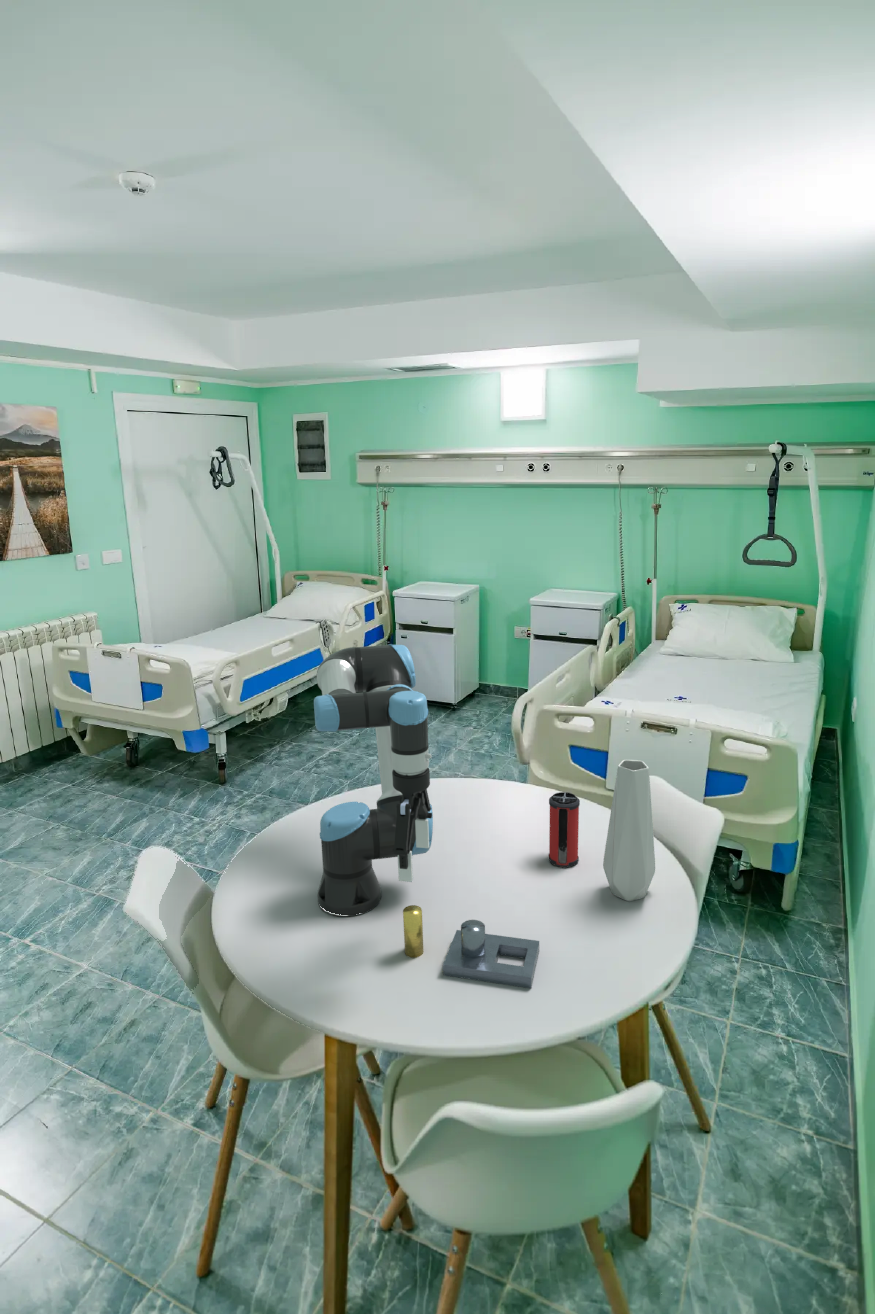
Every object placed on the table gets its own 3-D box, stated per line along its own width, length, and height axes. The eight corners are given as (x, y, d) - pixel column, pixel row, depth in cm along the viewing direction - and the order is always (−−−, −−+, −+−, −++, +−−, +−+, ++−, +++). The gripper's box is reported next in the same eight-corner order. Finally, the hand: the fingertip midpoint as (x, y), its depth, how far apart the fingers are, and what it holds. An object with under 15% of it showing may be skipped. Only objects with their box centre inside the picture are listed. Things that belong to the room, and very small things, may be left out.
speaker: (547, 866, 193) (547, 802, 189) (550, 852, 201) (550, 789, 196) (577, 869, 192) (578, 804, 187) (579, 854, 199) (580, 791, 194)
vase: (610, 874, 189) (614, 751, 181) (657, 886, 183) (663, 759, 175) (594, 898, 179) (597, 769, 171) (642, 911, 173) (648, 778, 165)
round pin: (402, 956, 160) (400, 914, 158) (408, 944, 164) (406, 904, 161) (420, 959, 159) (418, 917, 157) (425, 947, 163) (424, 906, 160)
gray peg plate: (443, 975, 154) (442, 941, 152) (457, 939, 165) (456, 907, 163) (531, 988, 149) (531, 953, 147) (539, 951, 160) (539, 918, 158)
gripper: (412, 796, 139) (416, 898, 144) (442, 746, 162) (445, 836, 168) (373, 793, 141) (379, 894, 146) (409, 744, 164) (412, 833, 169)
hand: (414, 863), depth 157 cm, fingers open, 13 cm apart
